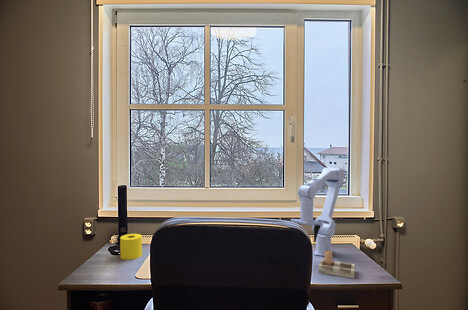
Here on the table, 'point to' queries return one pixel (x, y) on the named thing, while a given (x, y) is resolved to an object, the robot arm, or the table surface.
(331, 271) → the bore block
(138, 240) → the tape roll
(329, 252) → the dowel
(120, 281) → the table surface
